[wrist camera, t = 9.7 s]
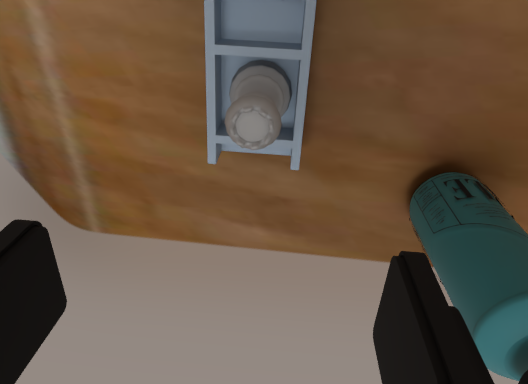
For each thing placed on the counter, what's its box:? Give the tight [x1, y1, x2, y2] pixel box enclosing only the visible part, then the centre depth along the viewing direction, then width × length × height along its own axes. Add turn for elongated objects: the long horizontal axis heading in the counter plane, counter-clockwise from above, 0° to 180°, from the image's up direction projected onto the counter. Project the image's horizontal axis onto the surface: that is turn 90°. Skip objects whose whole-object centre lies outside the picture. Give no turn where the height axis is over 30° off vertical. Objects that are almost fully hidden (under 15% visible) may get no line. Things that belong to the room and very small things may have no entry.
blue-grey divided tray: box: [204, 0, 317, 170], centre depth 24 cm, size 7×18×10 cm, turn 177°
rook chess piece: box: [225, 60, 292, 150], centre depth 25 cm, size 4×4×8 cm
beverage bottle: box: [409, 172, 528, 384], centre depth 25 cm, size 6×7×20 cm
